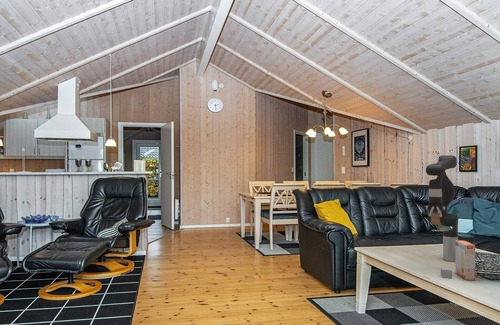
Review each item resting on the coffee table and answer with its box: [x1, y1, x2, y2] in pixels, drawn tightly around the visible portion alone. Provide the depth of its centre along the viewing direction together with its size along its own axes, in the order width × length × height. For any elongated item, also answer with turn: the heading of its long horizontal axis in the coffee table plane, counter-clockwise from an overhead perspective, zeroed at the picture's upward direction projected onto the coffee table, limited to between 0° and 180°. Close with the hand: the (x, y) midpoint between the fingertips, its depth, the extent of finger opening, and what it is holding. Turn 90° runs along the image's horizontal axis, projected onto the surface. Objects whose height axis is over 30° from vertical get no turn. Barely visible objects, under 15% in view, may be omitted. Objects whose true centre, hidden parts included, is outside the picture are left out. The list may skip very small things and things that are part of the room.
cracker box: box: [455, 239, 476, 281], centre depth 215 cm, size 14×6×21 cm, turn 170°
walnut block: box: [430, 212, 441, 226], centre depth 227 cm, size 5×5×7 cm
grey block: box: [440, 267, 453, 280], centre depth 215 cm, size 5×5×5 cm
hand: (435, 222), depth 227 cm, fingers closed on walnut block, 5 cm apart
